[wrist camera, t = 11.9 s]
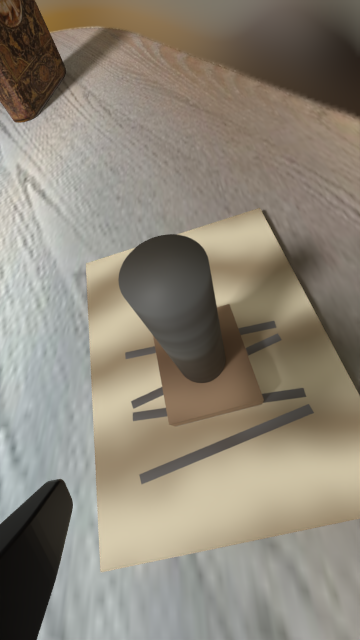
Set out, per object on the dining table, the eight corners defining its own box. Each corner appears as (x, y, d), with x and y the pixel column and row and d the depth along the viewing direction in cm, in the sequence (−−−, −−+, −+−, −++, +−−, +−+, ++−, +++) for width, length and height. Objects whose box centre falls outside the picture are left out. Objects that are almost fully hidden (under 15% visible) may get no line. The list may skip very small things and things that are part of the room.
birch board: (407, 503, 15) (418, 506, 14) (108, 565, 16) (100, 572, 15) (259, 216, 26) (259, 207, 25) (90, 269, 28) (85, 263, 27)
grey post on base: (261, 404, 18) (291, 337, 7) (176, 426, 18) (84, 393, 8) (230, 316, 21) (218, 180, 10) (158, 336, 21) (78, 226, 11)
